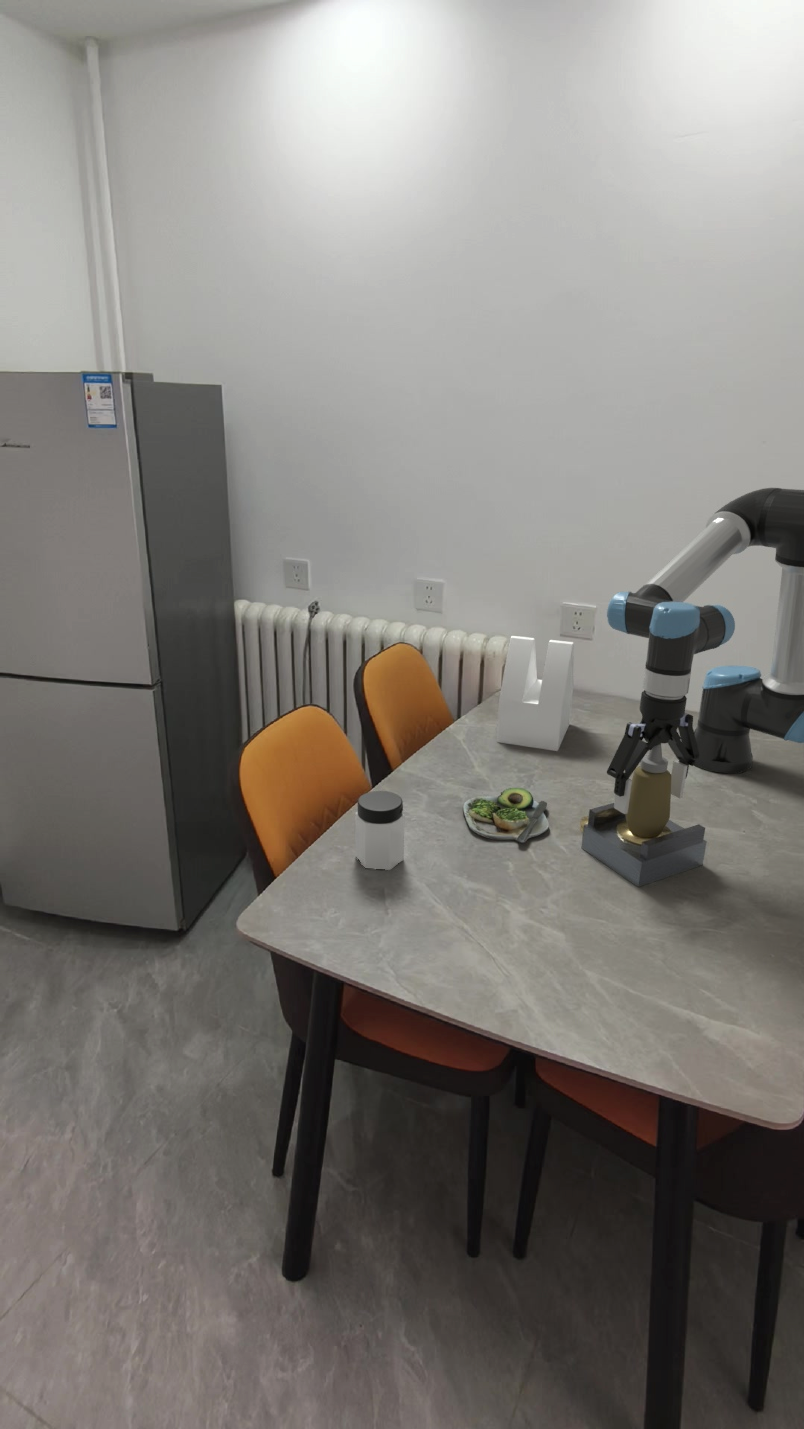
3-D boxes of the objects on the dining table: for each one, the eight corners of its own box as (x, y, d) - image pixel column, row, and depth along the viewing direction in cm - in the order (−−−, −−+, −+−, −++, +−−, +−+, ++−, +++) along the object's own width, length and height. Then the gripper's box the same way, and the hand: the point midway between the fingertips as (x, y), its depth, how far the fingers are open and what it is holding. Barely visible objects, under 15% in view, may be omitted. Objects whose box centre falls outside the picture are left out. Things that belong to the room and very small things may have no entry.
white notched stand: (557, 751, 195) (567, 653, 186) (496, 742, 199) (502, 646, 190) (569, 724, 212) (578, 633, 203) (512, 716, 216) (519, 627, 207)
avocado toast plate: (563, 849, 151) (565, 828, 150) (470, 850, 150) (471, 828, 149) (543, 803, 169) (544, 783, 168) (459, 803, 169) (460, 783, 167)
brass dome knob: (596, 821, 162) (597, 813, 161) (616, 835, 157) (618, 826, 156) (573, 828, 159) (574, 819, 158) (593, 842, 154) (594, 833, 153)
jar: (410, 865, 144) (411, 806, 140) (369, 875, 141) (369, 815, 136) (389, 842, 152) (390, 786, 147) (350, 851, 148) (349, 794, 144)
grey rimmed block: (643, 829, 158) (648, 793, 156) (702, 865, 146) (709, 826, 143) (581, 847, 151) (585, 810, 148) (638, 887, 139) (643, 847, 136)
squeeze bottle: (669, 844, 142) (684, 752, 136) (623, 838, 144) (635, 747, 137) (664, 822, 150) (678, 734, 143) (620, 818, 151) (632, 730, 145)
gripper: (698, 676, 146) (681, 781, 153) (594, 696, 134) (582, 808, 142) (731, 688, 140) (712, 797, 147) (625, 710, 128) (611, 826, 136)
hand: (648, 802), depth 145 cm, fingers open, 13 cm apart
